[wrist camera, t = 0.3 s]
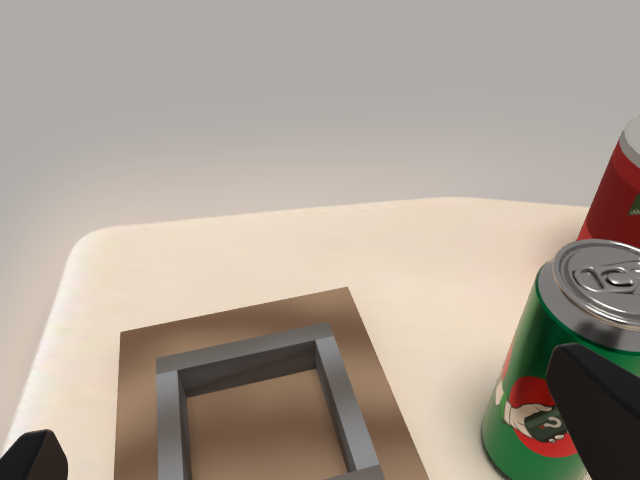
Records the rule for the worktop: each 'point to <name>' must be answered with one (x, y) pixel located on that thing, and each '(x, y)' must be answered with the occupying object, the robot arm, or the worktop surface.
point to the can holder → (260, 398)
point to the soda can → (556, 329)
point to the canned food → (618, 193)
